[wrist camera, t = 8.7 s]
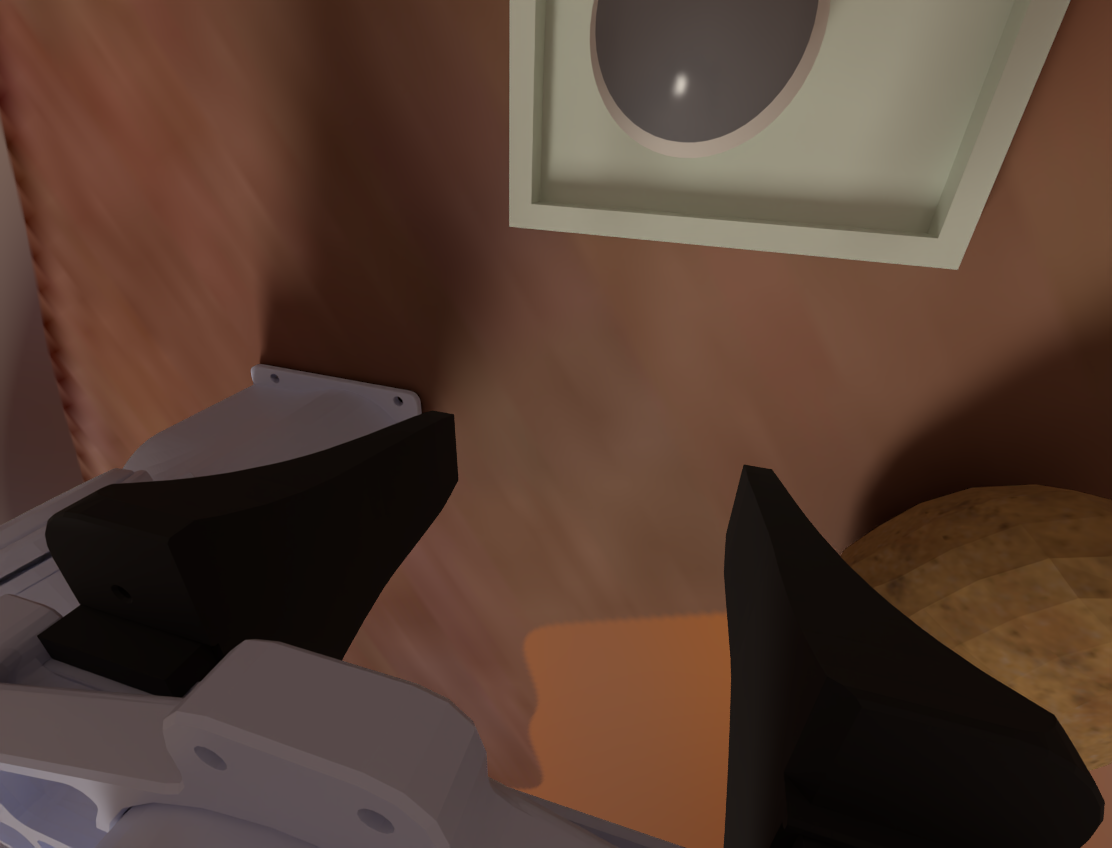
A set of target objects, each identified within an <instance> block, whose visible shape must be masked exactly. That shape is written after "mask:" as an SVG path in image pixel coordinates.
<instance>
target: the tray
mask: <svg viewBox="0 0 1112 848" xmlns="http://www.w3.org/2000/svg"><path fill="white" fill-rule="evenodd" d="M593 3H594V0H510V98H509V227H518V228H529V229H539V230H550V231H560V232H571V233H581V234H591V235H602V236H612V237H623V238H633V239H644V240H654V241H664V242H675V243H685V244H696V245H706V246H716V247H727V248H737V249H748V250H758V251H769V252H779V253H789V254H800V255H810V256H821V257H831V258H842V259H852V260H862V261H873V262H883V263H894V264H904V265H915V266H925V267H935V268H946V269H956V270H958V268H959V265H960V263H961V261H962V258H963V256H964V253H965V251H966V249H967V246H968V244H969V241H970V239H971V237H972V234H973V232H974V230H975V227H976V225H977V222H978V220H979V218H980V215H981V213H982V210H983V208H984V206H985V203H986V201H987V198H988V196H989V194H990V191H991V189H992V187H993V184H994V182H995V179H996V177H997V175H998V172H999V170H1000V167H1001V165H1002V163H1003V160H1004V158H1005V156H1006V153H1007V151H1008V148H1009V146H1010V144H1011V141H1012V139H1013V136H1014V134H1015V132H1016V129H1017V127H1018V124H1019V122H1020V120H1021V117H1022V115H1023V113H1024V110H1025V108H1026V105H1027V103H1028V101H1029V98H1030V96H1031V93H1032V91H1033V89H1034V86H1035V84H1036V81H1037V79H1038V77H1039V74H1040V72H1041V70H1042V67H1043V65H1044V62H1045V60H1046V58H1047V55H1048V53H1049V50H1050V48H1051V46H1052V43H1053V41H1054V39H1055V36H1056V34H1057V31H1058V29H1059V27H1060V24H1061V22H1062V19H1063V17H1064V15H1065V12H1066V10H1067V7H1068V5H1069V3H1070V0H830V11H829V17H828V22H827V26H826V31H825V35H824V38H823V41H822V44H821V47H820V51H819V53H818V56H817V58H816V60H815V62H814V65H813V67H812V69H811V71H810V73H809V75H808V77H807V78H806V80H805V82H804V84H803V85H802V87H801V89H800V90H799V91H798V93H797V94H796V96H795V97H794V98H793V100H792V101H791V103H790V104H789V105H788V106H787V107H786V108H785V109H784V111H783V112H782V113H781V114H780V115H779V116H778V117H777V118H776V119H775V120H774V121H773V122H772V123H771V124H770V125H768V126H767V127H766V128H765V129H764V130H762V131H761V132H760V133H758V134H757V135H756V136H754V137H753V138H751V139H750V140H748V141H746V142H744V143H743V144H741V145H739V146H737V147H735V148H732V149H730V150H727V151H725V152H722V153H719V154H715V155H711V156H707V157H699V158H678V157H672V156H666V155H663V154H660V153H657V152H654V151H652V150H650V149H648V148H646V147H644V146H642V145H640V144H639V143H638V142H636V141H635V140H633V139H632V138H631V137H630V136H628V135H627V134H626V133H625V132H624V131H623V130H622V129H621V128H620V127H619V125H618V124H617V123H616V122H615V120H614V119H613V118H612V116H611V115H610V113H609V111H608V110H607V108H606V106H605V105H604V102H603V100H602V98H601V96H600V93H599V91H598V88H597V85H596V81H595V78H594V74H593V69H592V63H591V55H590V22H591V15H592V7H593Z"/></svg>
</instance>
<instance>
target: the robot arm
mask: <svg viewBox="0 0 1112 848" xmlns="http://www.w3.org/2000/svg"><path fill="white" fill-rule="evenodd" d="M251 376H252V379H253V383H254V385H252V386H250V387H248V388H246V389H244V390H242V391H240V392H238V393H236V394H234V395H232V396H230V397H228V398H226V399H224V400H222V401H220V402H218V403H216V404H214V405H212V406H210V407H208V408H206V409H205V410H203V411H201V412H199V413H197V414H195V415H193V416H191V417H189V418H187V419H185V420H183V421H181V422H179V423H177V424H175V425H173V426H171V427H169V428H167V429H165V430H163V431H161V432H159V433H158V434H156V435H154V436H153V437H151V438H150V439H148V440H147V441H146V442H145V443H143V444H142V445H141V446H140V447H139V448H138V449H137V450H136V451H135V452H134V454H133V455H132V456H131V457H130V459H129V460H128V461H127V463H126V464H125V466H124V467H123V469H119V468H115V469H112V470H110V471H108V472H105V473H103V474H101V475H99V476H97V477H95V478H93V479H91V480H89V481H87V482H85V483H83V484H81V485H79V486H77V487H75V488H73V489H71V490H69V491H67V492H65V493H63V494H61V495H59V496H57V497H55V498H53V499H51V500H49V501H47V502H45V503H43V504H41V505H39V506H37V507H35V508H33V509H32V510H29V511H28V512H26V513H24V514H22V515H20V516H18V517H16V518H14V519H12V520H10V521H8V522H6V523H4V524H3V525H0V848H685V847H682V846H679V845H676V844H673V843H670V842H667V841H664V840H661V839H659V838H655V837H653V836H650V835H647V834H644V833H641V832H638V831H635V830H632V829H629V828H626V827H623V826H621V825H618V824H615V823H611V822H609V821H606V820H603V819H600V818H597V817H594V816H591V815H588V814H585V813H582V812H579V811H577V810H573V809H571V808H568V807H565V806H562V805H559V804H556V803H553V802H550V801H547V800H544V799H541V798H538V797H536V796H533V795H530V794H527V793H524V792H521V791H518V790H515V789H512V788H509V787H507V786H505V785H503V784H501V783H500V782H498V781H496V780H494V779H492V778H490V777H488V773H487V754H486V750H485V748H484V746H483V743H482V741H481V739H480V736H479V734H478V732H477V729H476V727H475V725H474V722H473V721H472V720H471V719H470V718H469V717H468V716H467V715H466V714H465V713H464V712H463V711H461V710H460V709H459V708H458V707H457V706H456V705H455V704H454V703H453V702H452V701H451V700H449V699H448V698H446V697H444V696H442V695H440V694H437V693H435V692H433V691H431V690H429V689H427V688H425V687H423V686H421V685H419V684H416V683H413V682H410V681H406V680H403V679H400V678H397V677H393V676H390V675H387V674H384V673H380V672H377V671H374V670H371V669H367V668H364V667H361V666H358V665H354V664H351V663H348V662H344V661H342V659H343V657H344V655H345V653H346V652H347V650H348V648H349V646H350V645H351V643H352V641H353V639H354V637H355V636H356V634H357V632H358V630H359V629H360V627H361V625H362V623H363V622H364V620H365V618H366V616H367V615H368V613H369V611H370V610H371V608H372V606H373V605H374V603H375V602H376V600H377V598H378V597H379V595H380V593H381V592H382V590H383V588H384V587H385V585H386V584H387V582H388V581H389V580H390V578H391V577H392V575H393V574H394V572H395V571H396V570H397V569H398V567H399V566H400V565H401V563H402V562H403V561H404V559H405V558H406V557H407V555H408V554H409V553H410V552H411V550H412V549H413V548H414V546H415V545H416V544H417V542H418V541H419V540H420V539H421V537H422V536H423V535H424V533H425V532H426V531H427V529H428V528H429V527H430V525H431V524H432V523H433V521H434V520H435V519H436V517H437V516H438V515H439V513H440V512H441V511H442V509H443V507H444V505H445V504H446V502H447V500H448V498H449V497H450V495H451V493H452V491H453V489H454V487H455V485H456V483H457V481H458V467H457V452H456V438H455V423H454V414H448V413H443V412H437V411H430V412H426V413H423V414H422V411H421V401H420V398H419V397H418V395H417V394H416V393H415V392H413V391H409V390H404V389H398V388H393V387H387V386H381V385H376V384H370V383H365V382H359V381H354V380H348V379H342V378H337V377H331V376H326V375H320V374H315V373H309V372H303V371H298V370H292V369H287V368H281V367H276V366H270V365H264V364H258V365H255V366H253V367H252V368H251ZM277 376H278V377H277ZM398 397H400V398H401V399H402V401H403V403H402V402H400V401H399V400H398ZM724 580H725V593H726V607H727V619H728V632H729V645H730V657H731V704H730V733H729V758H728V781H727V799H726V818H725V835H724V848H1080V847H1081V846H1083V845H1084V844H1085V843H1086V842H1087V841H1088V840H1089V839H1090V838H1091V836H1092V835H1093V834H1094V832H1095V831H1096V829H1097V828H1098V826H1099V825H1100V824H1101V822H1102V821H1103V817H1104V804H1105V802H1104V799H1103V798H1102V795H1101V793H1100V791H1099V789H1098V787H1097V785H1096V783H1095V781H1094V779H1093V778H1092V776H1091V774H1090V772H1089V771H1088V769H1087V767H1086V765H1085V764H1084V762H1083V760H1082V758H1081V757H1080V755H1079V753H1078V751H1077V750H1076V748H1075V746H1074V745H1073V743H1072V741H1071V740H1070V738H1069V737H1068V735H1067V733H1066V732H1065V730H1064V728H1063V727H1062V725H1061V724H1060V723H1059V721H1058V720H1057V718H1056V716H1055V715H1054V714H1052V713H1051V712H1049V711H1047V710H1046V709H1044V708H1042V707H1041V706H1039V705H1037V704H1036V703H1034V702H1032V701H1031V700H1029V699H1028V698H1026V697H1024V696H1023V695H1021V694H1019V693H1018V692H1016V691H1014V690H1013V689H1011V688H1009V687H1008V686H1006V685H1005V684H1003V683H1001V682H1000V681H998V680H996V679H995V678H993V677H991V676H990V675H988V674H986V673H985V672H983V671H982V670H980V669H979V668H977V667H976V666H974V665H973V664H971V663H970V662H969V661H967V660H966V659H964V658H963V657H961V656H960V655H958V654H957V653H955V652H954V651H953V650H951V649H950V648H948V647H947V646H945V645H944V644H942V643H941V642H940V641H938V640H937V639H936V638H934V637H933V636H931V635H930V634H929V633H927V632H926V631H925V630H923V629H922V628H921V627H919V626H918V625H917V624H916V623H914V622H913V621H912V620H911V619H909V618H908V617H907V616H906V615H904V614H903V613H902V612H901V611H899V610H898V609H897V608H896V607H894V606H893V605H892V604H891V603H889V602H888V601H887V600H886V599H885V598H884V597H883V596H881V595H880V594H879V593H878V592H877V591H876V590H874V589H873V588H872V587H871V586H870V585H869V584H868V583H867V582H866V581H865V580H864V579H863V578H862V577H861V576H860V575H859V574H857V573H856V572H855V571H854V570H853V569H852V568H851V567H850V566H849V565H848V564H847V563H846V562H845V561H844V560H843V559H842V558H841V557H840V555H839V554H838V553H837V552H836V551H835V550H834V549H833V548H832V547H831V545H830V544H829V543H828V542H827V541H826V540H825V539H824V538H823V537H822V535H821V534H820V533H819V532H818V531H817V529H816V528H815V527H814V526H813V525H812V523H811V522H810V521H809V520H808V518H807V517H806V516H805V514H804V513H803V512H802V510H801V509H800V508H799V506H798V505H797V504H796V502H795V501H794V500H793V498H792V497H791V495H790V494H789V493H788V491H787V490H786V488H785V487H784V485H783V484H782V483H781V481H780V480H779V478H778V477H777V476H776V474H775V473H774V471H773V470H772V469H766V468H761V467H755V466H749V465H744V466H743V469H742V473H741V477H740V481H739V485H738V489H737V493H736V497H735V501H734V505H733V509H732V513H731V517H730V521H729V525H728V529H727V533H726V544H725V561H724Z"/></svg>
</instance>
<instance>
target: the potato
mask: <svg viewBox="0 0 1112 848" xmlns="http://www.w3.org/2000/svg"><path fill="white" fill-rule="evenodd" d="M841 558H842V559H843V560H844V561H845V562H846V563H847V564H848V565H849V566H850V567H851V568H852V569H853V570H854V571H855V572H856V573H857V574H859V575H860V576H861V577H862V578H863V579H864V580H865V581H866V582H867V583H868V584H869V585H870V586H871V587H872V588H873V589H874V590H876V591H877V592H878V593H879V594H880V595H881V596H883V597H884V598H885V599H886V600H887V601H888V602H889V603H891V604H892V605H893V606H894V607H896V608H897V609H898V610H899V611H901V612H902V613H903V614H904V615H906V616H907V617H908V618H909V619H911V620H912V621H913V622H914V623H916V624H917V625H918V626H919V627H921V628H922V629H923V630H925V631H926V632H927V633H929V634H930V635H931V636H933V637H934V638H936V639H937V640H938V641H940V642H941V643H942V644H944V645H945V646H947V647H948V648H950V649H951V650H953V651H954V652H955V653H957V654H958V655H960V656H961V657H963V658H964V659H966V660H967V661H969V662H970V663H971V664H973V665H974V666H976V667H977V668H979V669H980V670H982V671H983V672H985V673H986V674H988V675H990V676H991V677H993V678H995V679H996V680H998V681H1000V682H1001V683H1003V684H1005V685H1006V686H1008V687H1009V688H1011V689H1013V690H1014V691H1016V692H1018V693H1019V694H1021V695H1023V696H1024V697H1026V698H1028V699H1029V700H1031V701H1032V702H1034V703H1036V704H1037V705H1039V706H1041V707H1042V708H1044V709H1046V710H1047V711H1049V712H1051V713H1052V714H1054V715H1055V716H1056V718H1057V720H1058V721H1059V723H1060V724H1061V725H1062V727H1063V728H1064V730H1065V732H1066V733H1067V735H1068V737H1069V738H1070V740H1071V741H1072V743H1073V745H1074V746H1075V748H1076V750H1077V751H1078V753H1079V755H1080V757H1081V758H1082V760H1083V762H1084V764H1085V765H1086V767H1087V769H1088V771H1090V770H1093V769H1097V768H1099V767H1102V766H1106V765H1109V764H1111V763H1112V500H1110V499H1106V498H1102V497H1098V496H1095V495H1091V494H1087V493H1083V492H1079V491H1075V490H1069V489H1062V488H1056V487H1049V486H1043V485H1036V484H1033V485H1014V486H994V487H975V488H969V489H966V490H962V491H959V492H956V493H953V494H949V495H946V496H943V497H939V498H936V499H933V500H929V501H926V502H923V503H920V504H918V505H916V506H914V507H912V508H911V509H909V510H907V511H905V512H903V513H902V514H900V515H898V516H896V517H894V518H893V519H891V520H889V521H887V522H885V523H884V524H882V525H880V526H878V527H877V528H875V529H874V530H872V531H871V532H869V533H868V534H867V535H865V536H864V537H862V538H861V539H859V540H858V541H856V542H855V543H853V544H852V545H851V546H849V547H848V548H846V549H845V550H844V551H843V553H842V555H841Z"/></svg>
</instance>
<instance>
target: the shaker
mask: <svg viewBox="0 0 1112 848" xmlns="http://www.w3.org/2000/svg"><path fill="white" fill-rule="evenodd" d="M829 11H830V0H594V3H593V7H592V15H591V22H590V55H591V63H592V69H593V74H594V78H595V81H596V85H597V88H598V91H599V93H600V96H601V98H602V100H603V102H604V105H605V106H606V108H607V110H608V111H609V113H610V115H611V116H612V118H613V119H614V120H615V122H616V123H617V124H618V125H619V127H620V128H621V129H622V130H623V131H624V132H625V133H626V134H627V135H628V136H630V137H631V138H632V139H633V140H635V141H636V142H638V143H639V144H640V145H642V146H644V147H646V148H648V149H650V150H652V151H654V152H657V153H660V154H663V155H666V156H672V157H678V158H699V157H707V156H711V155H715V154H719V153H722V152H725V151H727V150H730V149H732V148H735V147H737V146H739V145H741V144H743V143H744V142H746V141H748V140H750V139H751V138H753V137H754V136H756V135H757V134H758V133H760V132H761V131H762V130H764V129H765V128H766V127H767V126H768V125H770V124H771V123H772V122H773V121H774V120H775V119H776V118H777V117H778V116H779V115H780V114H781V113H782V112H783V111H784V109H785V108H786V107H787V106H788V105H789V104H790V103H791V101H792V100H793V98H794V97H795V96H796V94H797V93H798V91H799V90H800V89H801V87H802V85H803V84H804V82H805V80H806V78H807V77H808V75H809V73H810V71H811V69H812V67H813V65H814V62H815V60H816V58H817V56H818V53H819V51H820V47H821V44H822V41H823V38H824V35H825V31H826V26H827V22H828V17H829Z"/></svg>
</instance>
